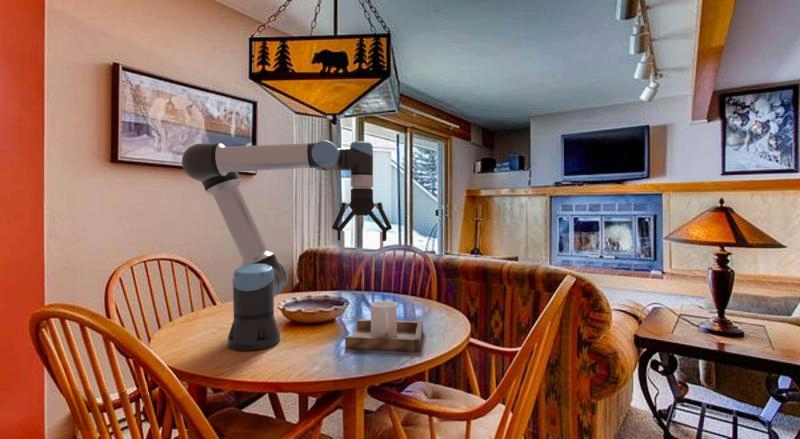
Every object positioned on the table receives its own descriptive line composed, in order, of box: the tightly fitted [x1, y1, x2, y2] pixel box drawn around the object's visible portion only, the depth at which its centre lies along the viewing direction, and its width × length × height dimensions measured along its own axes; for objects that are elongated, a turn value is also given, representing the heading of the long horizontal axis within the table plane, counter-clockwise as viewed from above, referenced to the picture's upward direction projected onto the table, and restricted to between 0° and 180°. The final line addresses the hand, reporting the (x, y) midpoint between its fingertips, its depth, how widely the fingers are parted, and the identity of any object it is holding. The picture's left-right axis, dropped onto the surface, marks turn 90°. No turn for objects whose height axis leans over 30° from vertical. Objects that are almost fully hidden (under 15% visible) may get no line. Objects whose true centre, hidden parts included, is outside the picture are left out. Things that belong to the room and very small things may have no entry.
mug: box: [370, 300, 398, 337], centre depth 125 cm, size 12×8×10 cm
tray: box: [344, 318, 424, 353], centre depth 126 cm, size 22×18×4 cm
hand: (362, 250), depth 137 cm, fingers open, 13 cm apart
